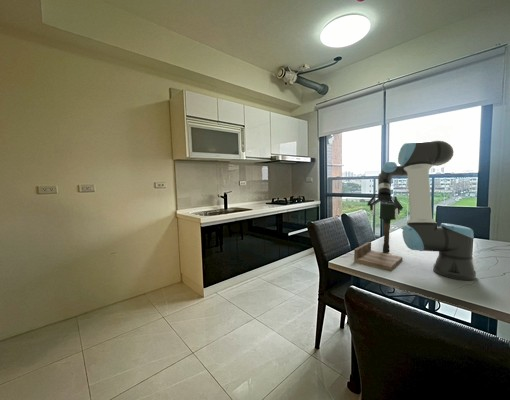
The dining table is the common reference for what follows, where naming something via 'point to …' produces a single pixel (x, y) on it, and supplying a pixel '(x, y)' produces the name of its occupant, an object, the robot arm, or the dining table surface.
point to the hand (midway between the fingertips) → (384, 216)
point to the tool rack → (375, 257)
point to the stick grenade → (387, 222)
